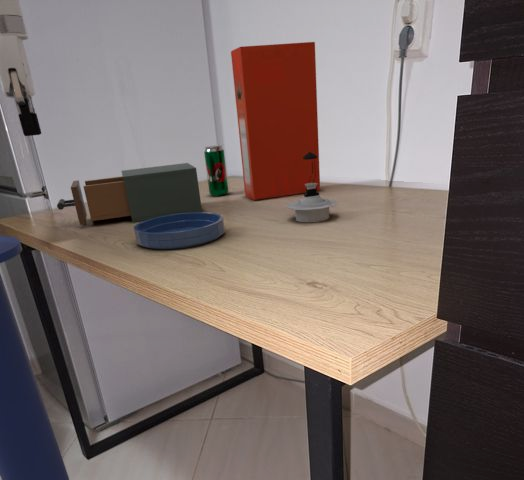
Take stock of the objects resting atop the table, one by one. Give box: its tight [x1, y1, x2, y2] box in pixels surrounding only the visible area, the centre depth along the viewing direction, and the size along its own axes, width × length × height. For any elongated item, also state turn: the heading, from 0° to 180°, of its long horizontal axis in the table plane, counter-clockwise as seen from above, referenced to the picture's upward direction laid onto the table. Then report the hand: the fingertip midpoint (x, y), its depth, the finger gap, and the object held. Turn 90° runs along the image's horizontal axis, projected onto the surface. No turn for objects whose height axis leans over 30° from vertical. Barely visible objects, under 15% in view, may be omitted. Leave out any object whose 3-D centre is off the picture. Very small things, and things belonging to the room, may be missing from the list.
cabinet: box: [121, 162, 203, 223], centre depth 114 cm, size 16×13×10 cm
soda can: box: [204, 145, 229, 197], centre depth 129 cm, size 5×5×12 cm
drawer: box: [56, 175, 131, 226], centre depth 111 cm, size 18×11×8 cm, turn 106°
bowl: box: [133, 211, 226, 250], centre depth 91 cm, size 16×16×3 cm
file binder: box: [230, 41, 321, 201], centre depth 118 cm, size 8×17×32 cm, turn 109°
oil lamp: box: [286, 151, 339, 223], centre depth 95 cm, size 12×10×10 cm
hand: (33, 134), depth 103 cm, fingers closed
